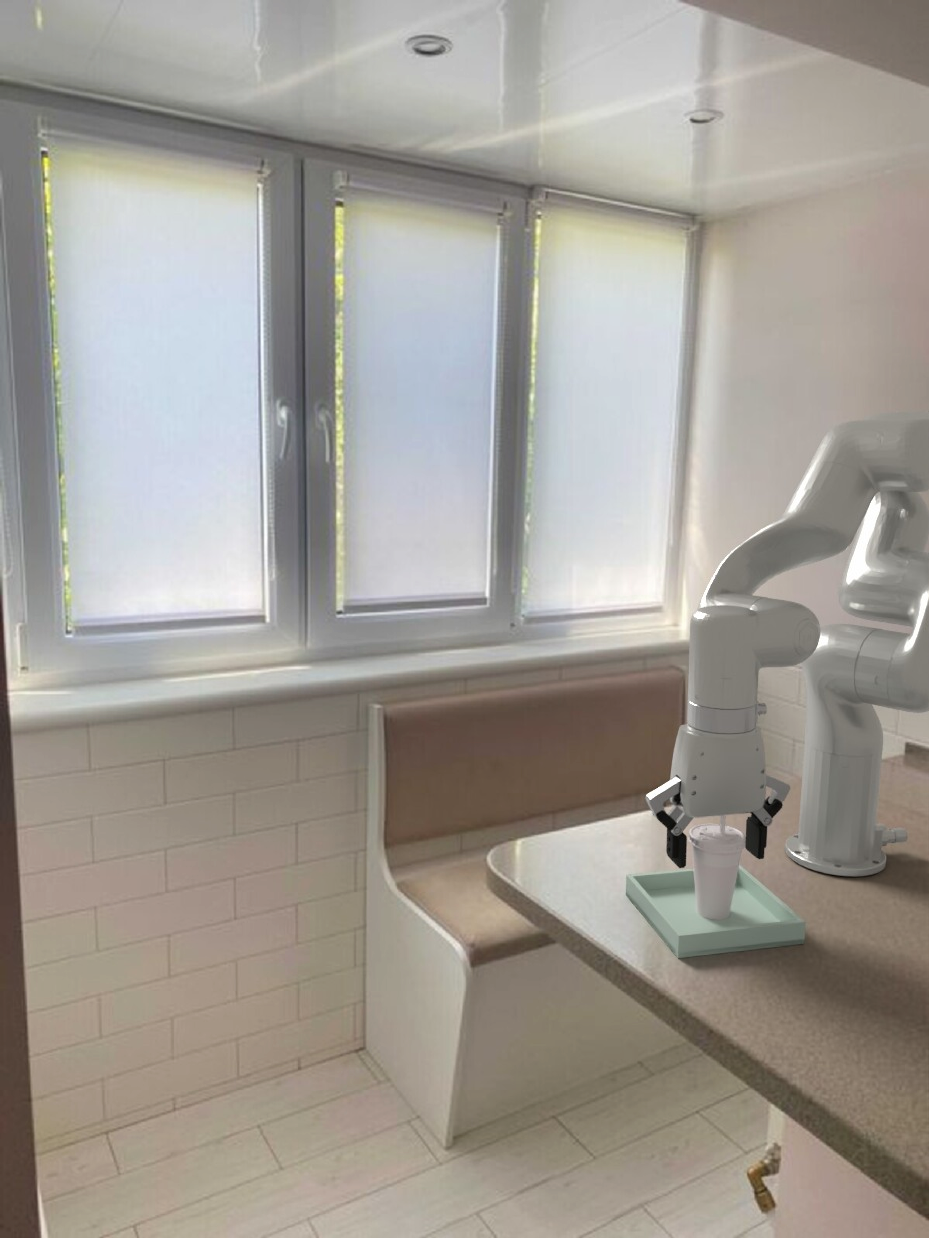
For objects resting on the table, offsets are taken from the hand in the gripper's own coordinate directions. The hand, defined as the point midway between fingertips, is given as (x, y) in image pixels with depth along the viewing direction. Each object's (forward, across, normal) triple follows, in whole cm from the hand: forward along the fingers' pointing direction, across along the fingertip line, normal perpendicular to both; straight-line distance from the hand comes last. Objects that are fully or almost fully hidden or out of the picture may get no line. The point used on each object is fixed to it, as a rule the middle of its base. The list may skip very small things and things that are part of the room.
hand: (716, 858), depth 108 cm
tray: (+7, +1, 0) cm, 7 cm away
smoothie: (+7, 0, 0) cm, 7 cm away
